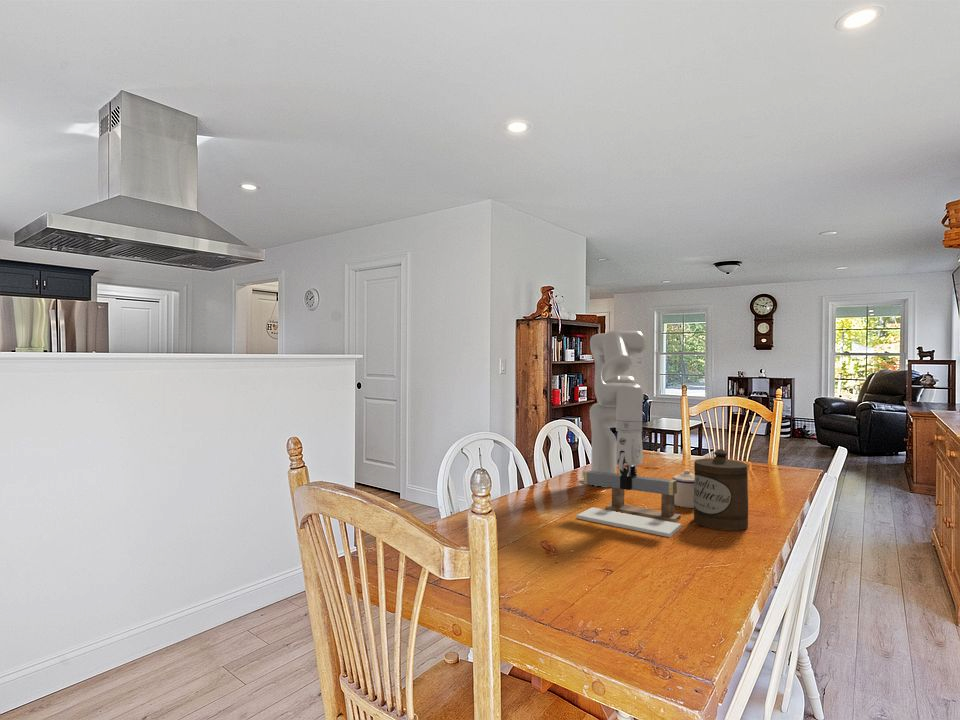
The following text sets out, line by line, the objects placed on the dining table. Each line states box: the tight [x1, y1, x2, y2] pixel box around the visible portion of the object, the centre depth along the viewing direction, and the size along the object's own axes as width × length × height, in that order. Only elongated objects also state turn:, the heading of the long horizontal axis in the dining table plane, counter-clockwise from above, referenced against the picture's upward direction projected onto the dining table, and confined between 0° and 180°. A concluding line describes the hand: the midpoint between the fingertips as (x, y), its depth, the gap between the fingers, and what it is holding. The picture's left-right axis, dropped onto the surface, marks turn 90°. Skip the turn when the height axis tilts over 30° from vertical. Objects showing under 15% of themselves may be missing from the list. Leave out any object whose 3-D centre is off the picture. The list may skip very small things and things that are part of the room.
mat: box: [576, 506, 683, 538], centre depth 161 cm, size 28×11×1 cm, turn 54°
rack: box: [604, 472, 682, 523], centre depth 170 cm, size 22×6×11 cm, turn 54°
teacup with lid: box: [672, 469, 695, 509], centre depth 182 cm, size 12×9×12 cm
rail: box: [583, 469, 677, 495], centre depth 160 cm, size 27×4×4 cm, turn 54°
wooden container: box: [693, 448, 749, 532], centre depth 161 cm, size 15×15×22 cm
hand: (628, 487), depth 160 cm, fingers closed on rail, 3 cm apart
